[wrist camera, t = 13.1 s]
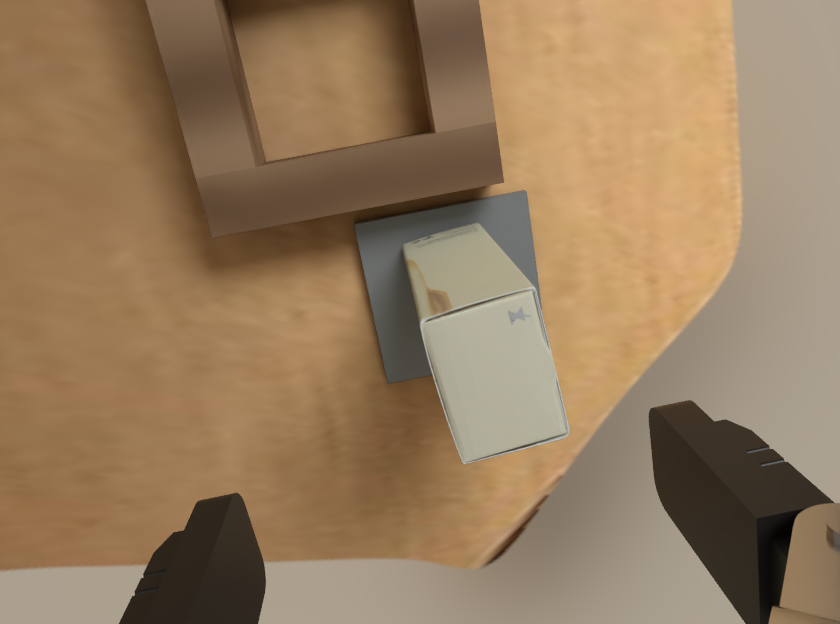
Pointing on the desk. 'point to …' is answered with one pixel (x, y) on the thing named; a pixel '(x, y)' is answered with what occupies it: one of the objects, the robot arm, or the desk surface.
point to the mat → (391, 279)
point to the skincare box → (485, 344)
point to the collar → (335, 169)
